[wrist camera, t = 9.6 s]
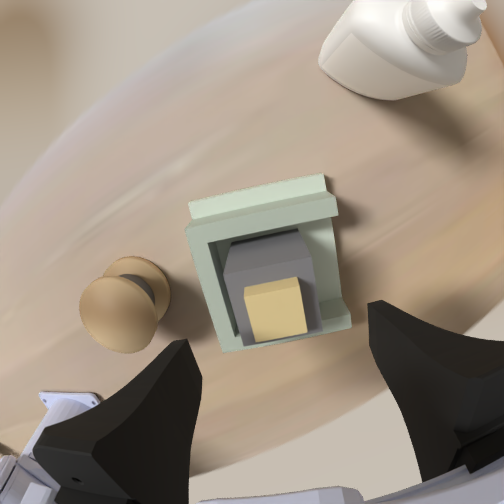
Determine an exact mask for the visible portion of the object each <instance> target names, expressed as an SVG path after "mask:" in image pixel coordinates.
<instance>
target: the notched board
mask: <svg viewBox="0 0 504 504" xmlns="http://www.w3.org/2000/svg"><path fill="white" fill-rule="evenodd" d="M188 205H189V209H190V213H191V216H192V221H191V222H190V223H189V224H188V225H187V227H186V228H185V233H186V236H187V240H188V243H189V247H190V250H191V254H192V257H193V260H194V264H195V267H196V270H197V274H198V277H199V280H200V283H201V287H202V290H203V293H204V296H205V300H206V303H207V306H208V309H209V312H210V315H211V318H212V321H213V324H214V327H215V330H216V333H217V336H218V339H219V342H220V345H221V348H222V351H223V353H226V352H232V351H239V350H245V349H251V348H257V347H262V346H268V345H273V344H279V343H284V342H289V341H294V340H299V339H304V338H309V337H313V336H318V335H323V334H327V333H332V332H336V331H340V330H345V329H349V328H352V325H351V314H350V312H349V310H348V308H347V306H346V304H345V302H344V300H343V298H342V293H341V284H340V276H339V268H338V261H337V253H336V246H335V240H334V233H333V226H332V220H331V217H333V216H338V209H337V203H336V197H335V196H334V195H332V194H331V193H329V192H328V191H327V190H326V185H325V179H324V174H322V173H317V174H312V175H307V176H302V177H296V178H291V179H286V180H281V181H277V182H272V183H267V184H262V185H258V186H253V187H249V188H244V189H240V190H235V191H231V192H226V193H222V194H218V195H214V196H210V197H205V198H201V199H197V200H193V201H190V202H189V203H188ZM296 228H298V230H299V232H300V234H301V236H302V238H303V240H304V242H305V244H306V246H307V248H308V250H309V253H310V255H311V257H312V263H313V269H314V275H315V282H316V288H317V294H318V301H319V308H320V314H321V321H322V328H323V331H322V332H317V333H312V334H308V335H303V336H298V337H293V338H288V339H283V340H278V341H273V342H267V343H262V344H256V345H250V346H243V342H242V339H241V336H240V332H239V329H238V325H237V322H236V319H235V315H234V312H233V308H232V305H231V301H230V298H229V294H228V291H227V287H226V284H225V280H224V276H223V273H224V269H225V265H226V261H227V257H228V253H229V249H230V245H231V242H234V241H239V240H244V239H249V238H253V237H258V236H263V235H267V234H272V233H277V232H282V231H286V230H291V229H296Z"/></svg>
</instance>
